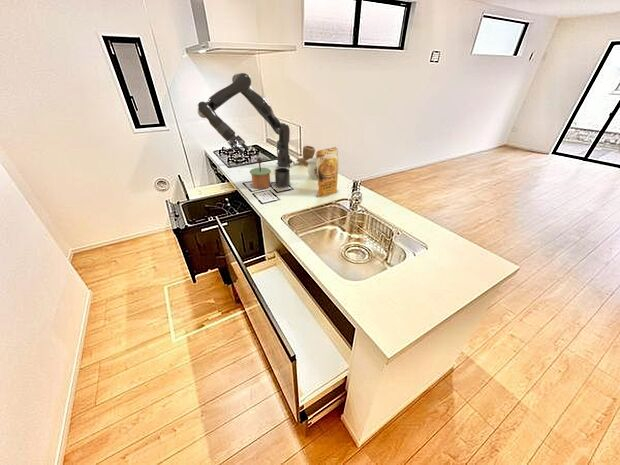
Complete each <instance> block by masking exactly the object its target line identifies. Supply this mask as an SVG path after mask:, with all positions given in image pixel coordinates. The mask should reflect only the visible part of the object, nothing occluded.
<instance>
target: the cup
mask: <svg viewBox="0 0 620 465" xmlns="http://www.w3.org/2000/svg"><path fill="white" fill-rule="evenodd" d="M290 171H291V170H290V169H289V168H279V167H277V168H276V169H274V181H275V182H274V183H275V186H276V187H277V188H288V187H289V186H290V185H291V174H290Z"/></svg>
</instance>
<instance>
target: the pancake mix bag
mask: <svg viewBox="0 0 620 465" xmlns="http://www.w3.org/2000/svg"><path fill="white" fill-rule="evenodd" d="M315 158H316V163H317V173H318V179H317V186H318V190H317V197H321V198H323V197H327V196H330V195H334V194H336V193H337V191H338V177H339V151H338V147H336V146H333V147H330V148H323V149H320V150H317V151H315Z"/></svg>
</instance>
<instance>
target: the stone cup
mask: <svg viewBox="0 0 620 465" xmlns="http://www.w3.org/2000/svg"><path fill="white" fill-rule="evenodd" d="M315 154H316V148H315V147H314V146H311V145H304V146H303V148H302V157H299V158H296V162H298V164H299V163H300V164H299V165H302V166H304V167H308V162H306V160H308V159H311V158H314V156H315Z"/></svg>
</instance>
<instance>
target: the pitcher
mask: <svg viewBox="0 0 620 465" xmlns="http://www.w3.org/2000/svg"><path fill="white" fill-rule="evenodd" d="M306 162H308V166H307V174H308V176H309V178H310V179H311V180H315V181H318V173H317V163H316V157H313V158H311V159H308V160H306Z"/></svg>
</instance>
